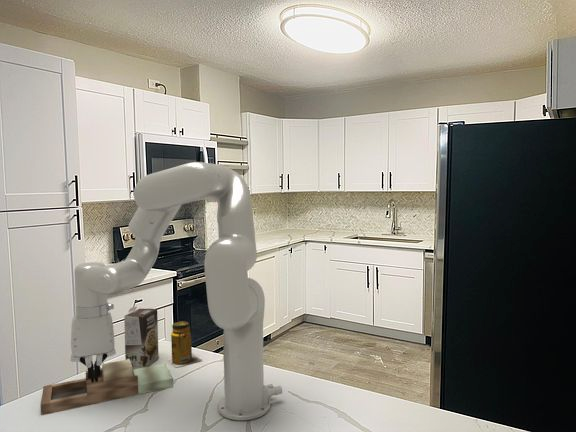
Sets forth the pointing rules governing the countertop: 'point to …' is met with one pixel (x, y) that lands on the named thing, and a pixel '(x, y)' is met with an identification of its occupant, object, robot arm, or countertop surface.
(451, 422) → the countertop surface
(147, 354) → the coffee box
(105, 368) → the birch block
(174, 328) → the condiment
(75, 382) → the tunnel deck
